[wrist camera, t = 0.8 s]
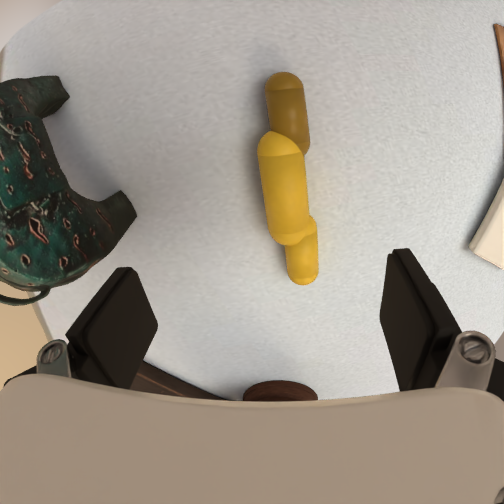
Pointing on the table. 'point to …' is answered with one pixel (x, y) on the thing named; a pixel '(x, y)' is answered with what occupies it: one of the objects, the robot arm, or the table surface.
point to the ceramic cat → (46, 199)
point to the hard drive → (491, 233)
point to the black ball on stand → (279, 392)
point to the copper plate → (500, 45)
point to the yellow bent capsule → (288, 176)
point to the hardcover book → (165, 384)
